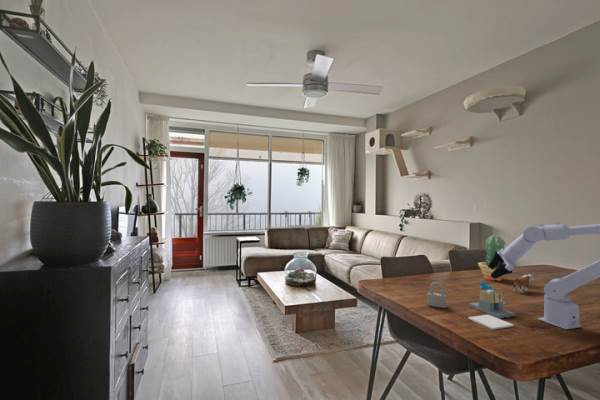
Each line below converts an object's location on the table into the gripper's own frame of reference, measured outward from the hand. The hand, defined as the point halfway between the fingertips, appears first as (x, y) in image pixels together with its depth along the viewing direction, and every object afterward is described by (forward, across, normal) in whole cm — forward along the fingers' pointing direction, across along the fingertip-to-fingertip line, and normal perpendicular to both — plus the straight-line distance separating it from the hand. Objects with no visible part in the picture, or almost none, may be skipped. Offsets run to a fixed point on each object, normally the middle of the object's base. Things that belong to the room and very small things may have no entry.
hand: (491, 272), depth 128 cm
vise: (+10, +9, +7) cm, 15 cm away
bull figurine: (+10, -28, +30) cm, 42 cm away
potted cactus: (+21, -50, +26) cm, 60 cm away
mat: (+8, +24, +2) cm, 25 cm away
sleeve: (+7, +9, +4) cm, 12 cm away
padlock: (+21, +14, -11) cm, 27 cm away
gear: (+14, -6, +11) cm, 19 cm away
